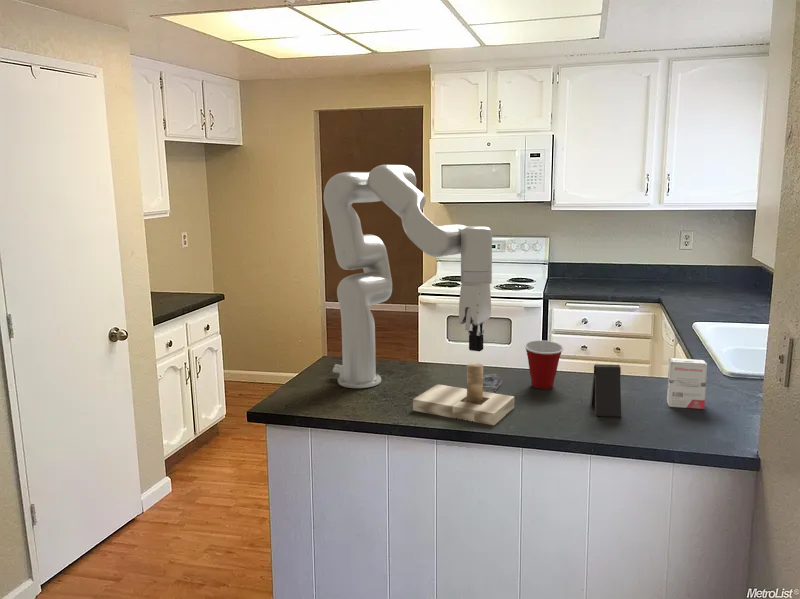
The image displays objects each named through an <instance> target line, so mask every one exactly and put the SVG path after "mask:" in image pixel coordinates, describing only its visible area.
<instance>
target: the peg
mask: <svg viewBox="0 0 800 599" xmlns="http://www.w3.org/2000/svg"><path fill="white" fill-rule="evenodd" d="M483 376H484V364H481V363H478V362H476V363H475V362H474V363H473V362H472V363H468V364H466V389H467V399H466V400H467V401H468V403H472V404H478V405H481V402H482V401H483V392H484V388H483Z"/></svg>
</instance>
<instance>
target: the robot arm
mask: <svg viewBox="0 0 800 599" xmlns="http://www.w3.org/2000/svg"><path fill="white" fill-rule="evenodd" d="M323 191H324V192H323V203H324V204H323V205H324V208H325V210H326V214H327V215H326V216H327V217H328V220H329V225H330V232H331V237H332V242H333V247H334V253H335V254H334V255H335V259H336V261H337V264H338V266H339V267H340V268H341V269H343V270H346V271H355V270H360V269H363V272H361V273H355V274H351V275H348V276H346V277H344V278H342V280H340V281H339V284H338V285H337V289H336V296H337V300H338V305H339V311H340V318H341V319H340V320H341V321H340V323H341V348H342V349H341V351H342V353H341V354H342V355H341V356H342V364H337V363H335V364H334V365H333V368H332V373H336V374H339V377H338V378H337V383H338V385H340V386H341V387H344V388H347V389H348V388H349V389H367V388H372V387H375V386H377V385H380V384H381V383H382V377H381V375H379V374H378V373H377V372H376V365H377V364H376V326H375V325H376V324H375V318H374V315H373V312H372V311H371V309H370V306H373V305H378V304H380V303H384V302H386V301H388V300H389V299H390V297H391V296H392V294H393V278H392V273H391V267H390V261H389V257H388V250H387V247H386V245H385V244H384V242H383V240H382V239H381V238H380V237H379V236H377V235H374V234H370V233H369V234H364V233H363V229H362V224H361V219H360V217H359V215H358V212H357V211H356V210H355V209H354V208H353V206H352V205H353V204H358V203H360V204H361V203H375V202H383V204H385V205H386V206H387V208H390V209H391V211H393V212H394V213H395V214H396V215H397V216H398V217H399V218H400V219H401V225H402V228H403V231H404V233H405V235H406V236H407V238H408V239H409V240H410V241H411V242H412V243H413V244H414V245H415V246H416V247H417V248H418V249H419V250H421V251H422V252H423V253H424V254H426V255H429V256H430V257H433V258H443V257H447V256H453V255H454V256H455V255H459V254H460V284H461V286H460V291H459V292H460V293H459V303H458V304H459V305H458V323H459V324H460V325H464V324H465V325H464V326H465V327H464V329H465V331H467V334H468V350H469V351H471V352H481V351H483V350H484V333H485V325H486V324H487V322H488V320H490V318H491V314H492V296H491V294H492V292H491V284H493V283H492V282H493V280H492V279H493V276H492V275H493V272H492V271H493V270H492V268H493V267H492V266H493V265H492V264H493V232H492V229H491V228H490V227H489V226H483V225H481V226H480V225H479V226H478V225H477V226H476V225H474V226H469V225H464V224H460V223H459V224H458V223H457V224H456V223H455V224H444V225H436V224H435V223H433V222H432V221H431V220H430V219H429V218H428V217H426V215H425V214H424V213H423V212H422V211H423V210H424V207H425V204H426V201H427V200H426V196H425V194H424V193H423V192H422V191H421V190H420V189H418V188H417V177H416V174H415V172H414V171H413V169H412V168H410V167H409V166H408V165H404V164H381V165H377V166H376V167H374V168H372V169H371V170H370V171H345V172H339V173H336V174H334V175H333V176H331V177H330V178H329V179H328V181H327V183H326V185H325V186H324V190H323Z"/></svg>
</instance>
